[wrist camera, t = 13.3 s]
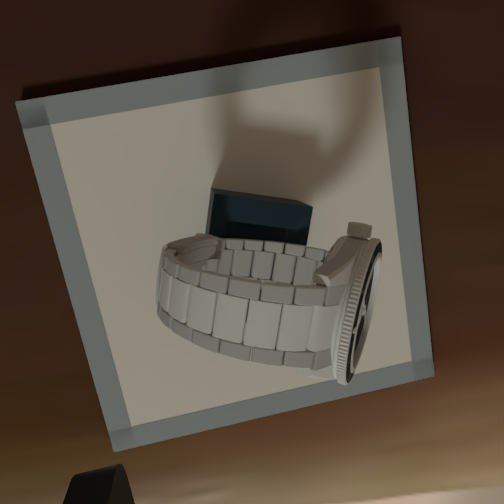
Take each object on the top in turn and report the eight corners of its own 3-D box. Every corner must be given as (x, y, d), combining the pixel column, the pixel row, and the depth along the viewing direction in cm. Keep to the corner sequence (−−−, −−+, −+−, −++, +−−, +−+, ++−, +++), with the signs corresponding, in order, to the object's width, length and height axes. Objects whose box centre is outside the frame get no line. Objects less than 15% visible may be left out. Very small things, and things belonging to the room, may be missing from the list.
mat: (115, 445, 25) (114, 452, 25) (19, 103, 21) (14, 101, 21) (428, 371, 27) (434, 376, 26) (394, 39, 23) (400, 36, 22)
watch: (316, 309, 25) (412, 429, 14) (161, 293, 23) (136, 411, 13) (335, 203, 24) (455, 245, 13) (174, 180, 22) (159, 206, 12)
